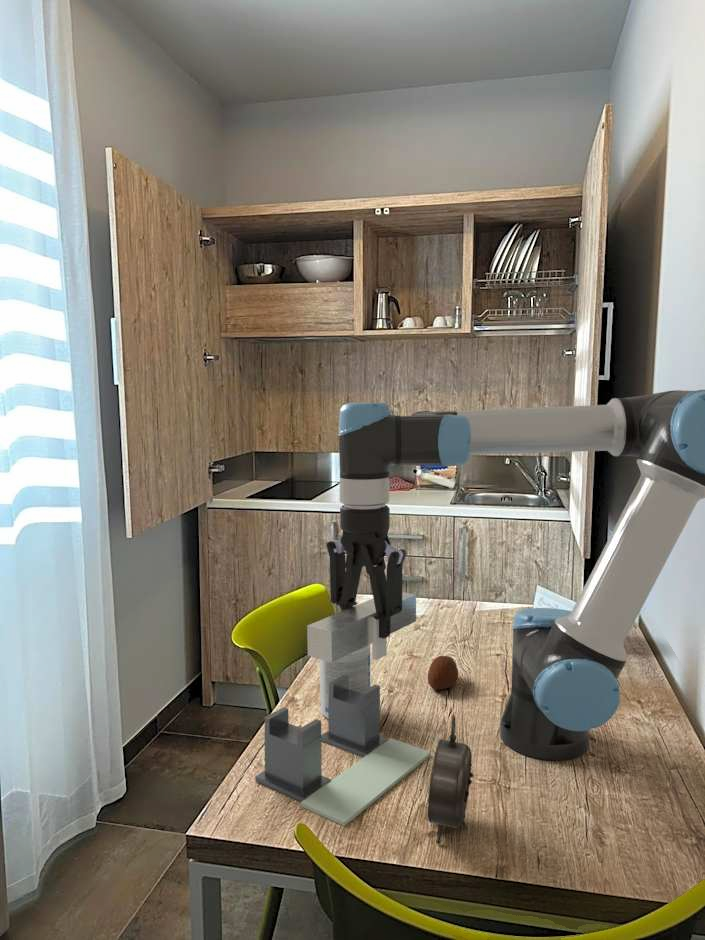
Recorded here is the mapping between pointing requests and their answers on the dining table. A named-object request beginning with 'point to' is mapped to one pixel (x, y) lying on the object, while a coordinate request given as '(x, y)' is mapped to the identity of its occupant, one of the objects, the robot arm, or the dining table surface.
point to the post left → (292, 757)
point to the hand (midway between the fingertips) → (365, 652)
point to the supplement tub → (350, 666)
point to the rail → (353, 629)
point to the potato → (442, 673)
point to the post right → (353, 718)
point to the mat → (365, 781)
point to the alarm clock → (449, 783)
